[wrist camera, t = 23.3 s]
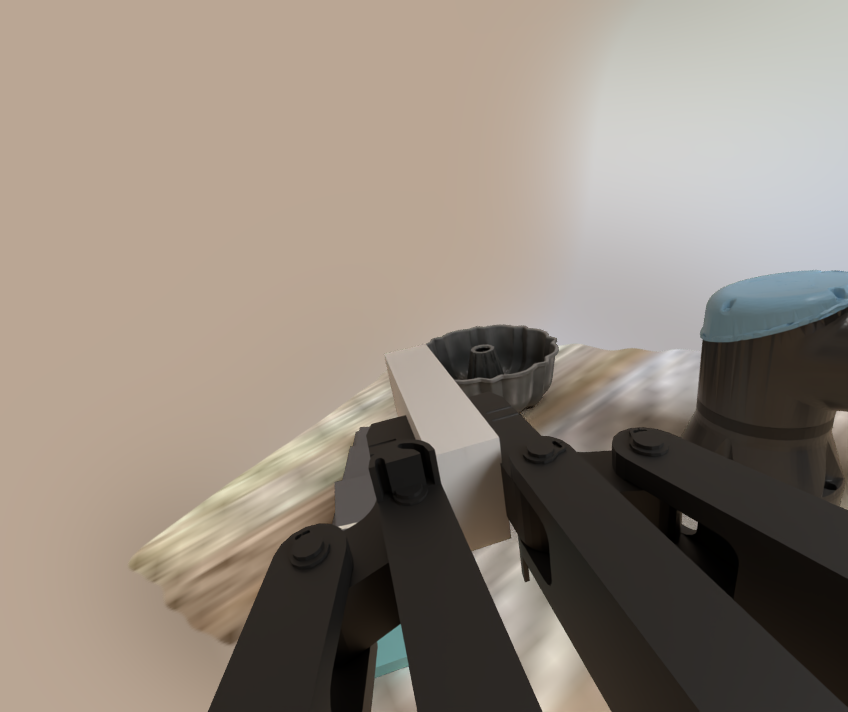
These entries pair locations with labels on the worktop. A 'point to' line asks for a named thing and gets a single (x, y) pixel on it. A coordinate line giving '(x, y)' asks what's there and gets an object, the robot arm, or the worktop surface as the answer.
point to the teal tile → (391, 653)
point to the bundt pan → (499, 361)
